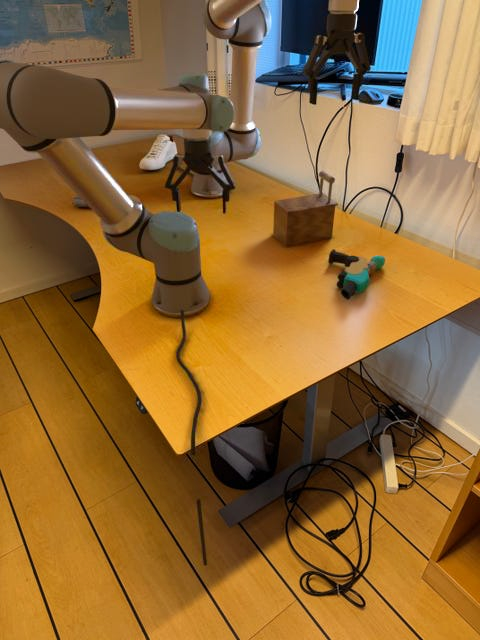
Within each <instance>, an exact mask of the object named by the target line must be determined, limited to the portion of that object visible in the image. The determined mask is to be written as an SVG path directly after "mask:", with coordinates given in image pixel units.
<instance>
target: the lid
mask: <svg viewBox="0 0 480 640" xmlns="http://www.w3.org/2000/svg"><path fill="white" fill-rule="evenodd" d="M318 177H319V178H320V179H319V180H320V182H319V193H314V194H309V195H302V196H296V197H290V198H285V199H284V198H283V199H278V200H274V201H273V205H274V204H276V205H277V206H278V207H279V208H280V209H281V210H283V211H284V212H285V213H286V214H287V215H288V214H294V213H299V212H305V211H311V210H316V209H322V208H327V207H333V206H335V207H337V206H338V205H339V203H338V202H336V201H335V200H334V199H332V191H333V184H334V183H335V181H336V179H335V177H333V176H332V175H331V174H329V173H327V172H326V171H324V170H320V172H319V173H318ZM324 181H325V182H327V183H328V193H327V194H325V193H324V192H323V189H324V188H323V187H324Z"/></svg>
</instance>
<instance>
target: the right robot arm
mask: <svg viewBox="0 0 480 640" xmlns="http://www.w3.org/2000/svg"><path fill="white" fill-rule="evenodd" d="M359 2H360V0H328V8H327V10H328V12H329V13H328V14H327V18H326V35H325V36H324V35H319V34H316V35H315V37H314V42H313V43H314V44H313V46H312V49H311V50H310V53H309V55H308V58H307V60H306V62H305V65H304V67H303V69H302V71H301V74H302V75H303V76H304V77H306V78H308V80H307V91H308V92H309V99H308V103H309V104H311V105H313V106H316V105H317V103H318V102H317V100H318V89H319V87H318V86H319V78H317V76H318V75H319V73H320V72H321V71H322V69H323V67H324V66H325V65H326V63H327V62H328V61H329V59H330V58H331V57H332V56H333V55H340V54H342V55H346V56H347V58H348V59H349V62H350V63H351V65H352V66H353V69H354V71H355V72H356V73H353V76H352V85H351V94H350V99H351V100H354V101H359V96H360V90H361V87H362V86H363V82H364V75H366V74H367V72H370V71H371V69H372V68H371V63H370V59H369V56H368V55H369V54H368V52H367V51H368V50H367V46H366V42H365V41H366V39H365V38H366V35H365V33H363V32H356V33H355V30H356V28H357V21H358V15H357V13H356V12H357V11H358V10H359ZM202 20H203V24H204V27H205V29H206V30H207V31H208V33H209V34H210V35H211V36H213V37H214V38H216V39H219V40H227V41H228V43H227V44H228V45H229V46H230V47H231V48H232V49H231V50H232V53H231V74H230V97H229V99H230V100H231V102H232V103H233V106H234V119H233V123H232V125H231V126H230V128H229V129H228V130H226V131H224V132H219V131H216V132H214V131H212V130H211V136H210V138H211V142H212V155H213V156H219V155H220V154H222V155H223V156H224V162H225V164H226V163H232V162H236V161H241V160H248V159H250V158H253V157H255V155H258V153H259V151H260V149H261V143H262V139H261V136H260V135H261V133H260V131H259V129H258V127H257V126H256V123H255V122H254V120H253V115H254V113H253V112H254V100H255V87H256V72H257V61H258V51H259V49H260V48H261V47H262V46H263V41H264V40H263V39H264V38H265V37H267V36H268V35H269V33H270V32H271V29H272V14H271V9H270V7H269V5H268V3H267V1H266V0H207V2H206V3H205V5H204V7H203V11H202ZM353 43H355V47H356V50H355V48H354V46H353ZM324 45H325V47H324ZM323 47H324V49H323ZM322 49H323V50H322ZM321 51H322V53H321ZM356 51H357V53H356ZM357 54H358V55H357ZM177 154H179V155H180V153H179V152H178V151H177ZM211 165H212V166H213V167H214V169H215V170H216V171H217V172H218V173H219V174H220V176H221V177H222V178H223V179H224V180H225V181H226V182H227V184H228V185H229V183H228V181H227V180H226V178H225V176H224V174H223V172H222V170H221V168H220V166H219V164H217V163H216V161H213V163H212V164H211ZM177 169H178V170H179V171H181V172H183V171H184V170H185V168H183V167H181V166H180V165H179V164H178V167H177ZM187 175H190V176H191V177H193V178H192V183H191V187H190V190H191V191H190V193H191V195H193V196H195V197H197V198H200V199H217V198H222V191H223V188H222V187H221V186H220V184H219V183H218V182H217V181H216V180H215V179H214V178H213V177H212V175H210V174H209V173H208V172H207V171H206V172H204V173H202V172H194V173H192V172H191V171H190V172H189V173H188V174H187Z"/></svg>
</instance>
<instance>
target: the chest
mask: <svg viewBox="0 0 480 640" xmlns="http://www.w3.org/2000/svg"><path fill="white" fill-rule="evenodd" d="M335 213H336V206H333V207H327V208H322V209H316V210H311V211H305V212H299V213H294V214H288V215H287V214H286V213H285V212H284V211H283V210H281V209H280V208H279V207H278V206H277V205H276V204H274V203H273V230H272V235H273V236H274V237H275V238H276V239H277V240H278V241H279V242H280V243H281V244H282V245H283V246H284V247H285V248H288V247H292V246H297V245H301V244H307V243H312V242H317V241H322V240H327V239H332V238H333V231H334V222H335Z"/></svg>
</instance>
